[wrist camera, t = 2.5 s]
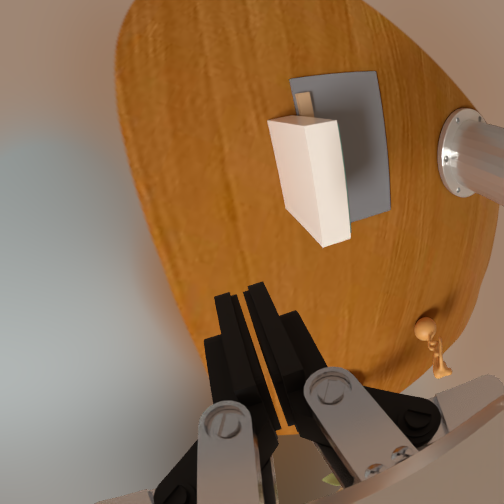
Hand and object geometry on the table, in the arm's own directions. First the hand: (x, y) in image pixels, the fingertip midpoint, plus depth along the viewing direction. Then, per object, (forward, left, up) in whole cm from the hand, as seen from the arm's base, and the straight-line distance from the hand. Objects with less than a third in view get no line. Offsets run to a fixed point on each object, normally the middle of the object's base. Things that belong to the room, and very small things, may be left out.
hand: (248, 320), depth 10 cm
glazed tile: (-8, 0, -19) cm, 21 cm away
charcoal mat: (-15, 0, -19) cm, 24 cm away
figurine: (-26, +31, -19) cm, 45 cm away
